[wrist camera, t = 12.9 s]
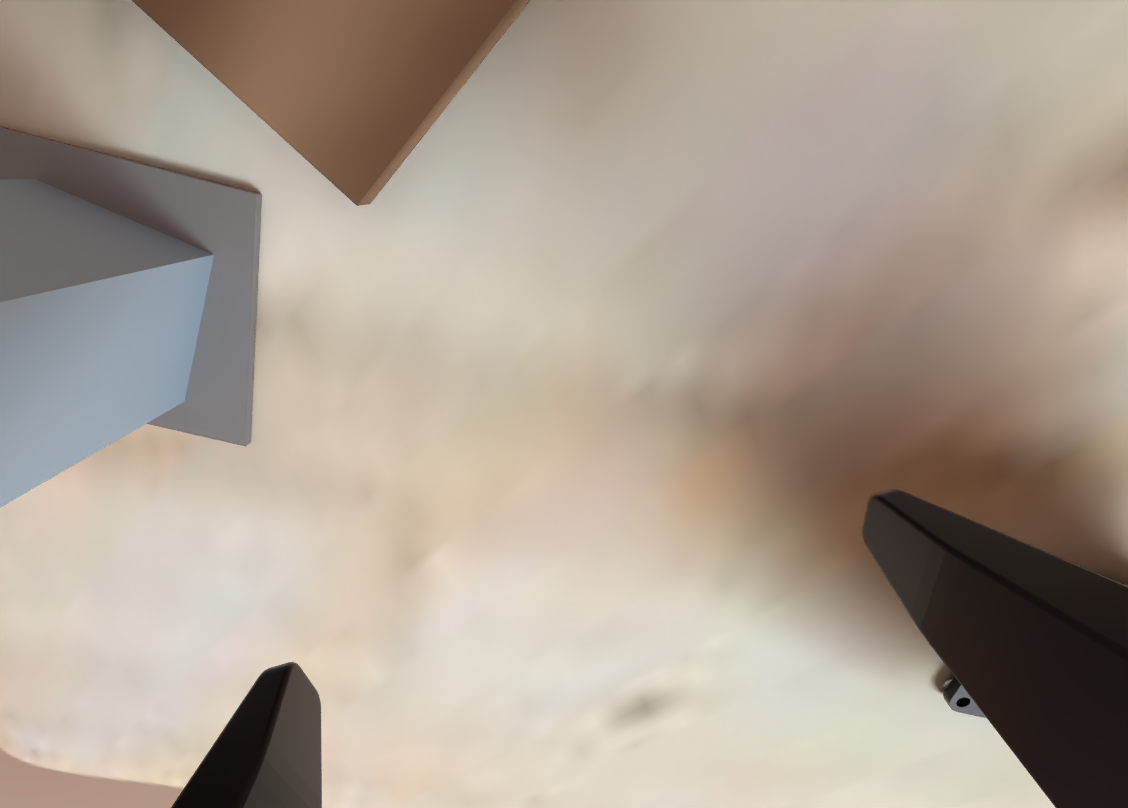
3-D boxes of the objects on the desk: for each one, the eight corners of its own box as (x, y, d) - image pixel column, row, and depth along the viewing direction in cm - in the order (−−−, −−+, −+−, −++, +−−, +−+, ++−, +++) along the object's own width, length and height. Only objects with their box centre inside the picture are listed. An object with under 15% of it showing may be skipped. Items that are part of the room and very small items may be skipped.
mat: (250, 442, 19) (245, 446, 19) (2, 385, 19) (-7, 388, 18) (261, 194, 16) (256, 194, 16) (-34, 118, 16) (-45, 116, 15)
